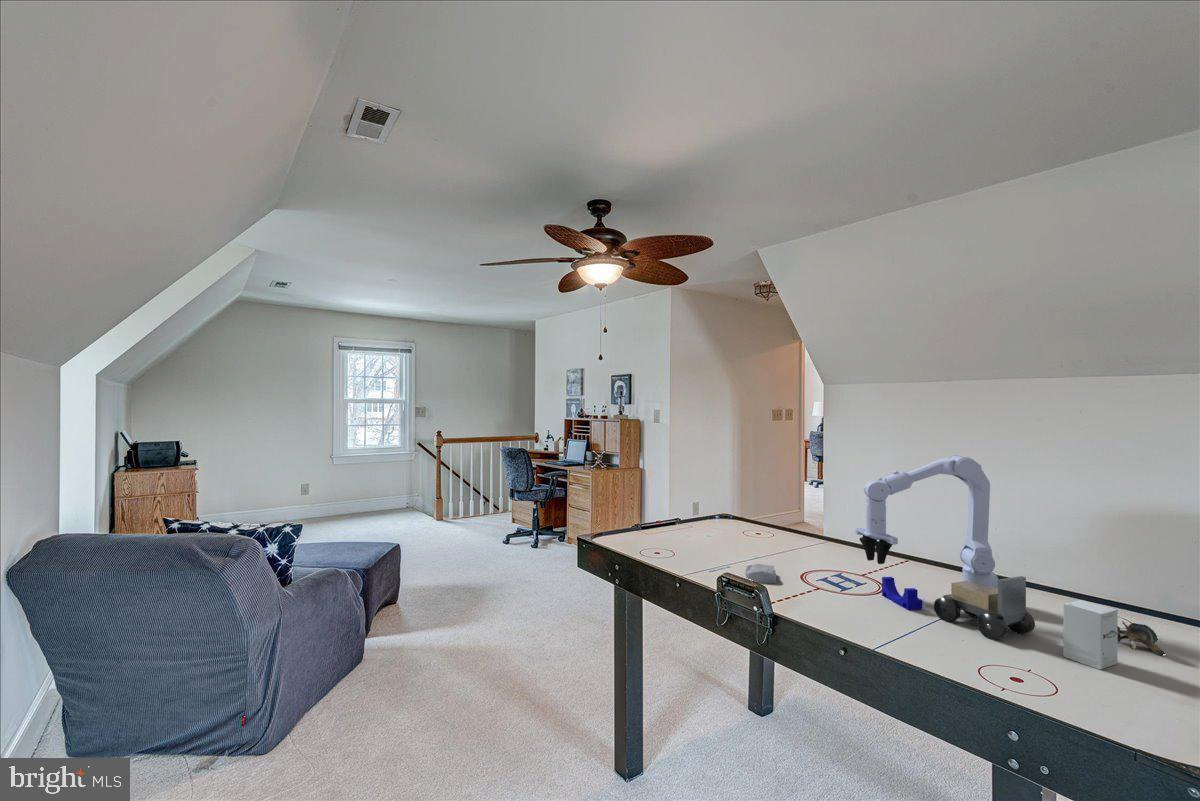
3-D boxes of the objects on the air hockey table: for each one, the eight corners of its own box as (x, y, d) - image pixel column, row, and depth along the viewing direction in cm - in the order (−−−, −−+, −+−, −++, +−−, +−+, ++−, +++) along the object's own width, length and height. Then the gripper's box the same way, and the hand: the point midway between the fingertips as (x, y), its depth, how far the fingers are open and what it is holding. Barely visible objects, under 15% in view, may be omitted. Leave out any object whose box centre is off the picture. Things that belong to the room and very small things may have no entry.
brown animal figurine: (1107, 641, 132) (1157, 648, 124) (1107, 612, 135) (1156, 618, 127) (1121, 653, 134) (1171, 661, 127) (1121, 625, 137) (1170, 631, 130)
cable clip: (922, 610, 155) (922, 589, 155) (907, 610, 154) (907, 590, 154) (895, 595, 167) (895, 576, 167) (882, 596, 166) (882, 577, 166)
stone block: (748, 588, 178) (779, 584, 176) (745, 573, 178) (776, 569, 177) (746, 578, 190) (774, 574, 188) (743, 564, 190) (772, 560, 188)
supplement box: (1101, 670, 119) (1101, 613, 119) (1062, 656, 126) (1061, 602, 126) (1119, 664, 122) (1119, 609, 122) (1079, 651, 129) (1079, 598, 129)
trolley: (966, 611, 154) (966, 558, 154) (1035, 636, 137) (1035, 577, 137) (933, 616, 150) (933, 562, 150) (1000, 643, 133) (1000, 582, 133)
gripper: (848, 515, 176) (848, 556, 175) (885, 524, 162) (885, 569, 162) (864, 514, 178) (864, 555, 178) (902, 523, 164) (902, 567, 164)
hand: (875, 561), depth 170 cm, fingers open, 3 cm apart
